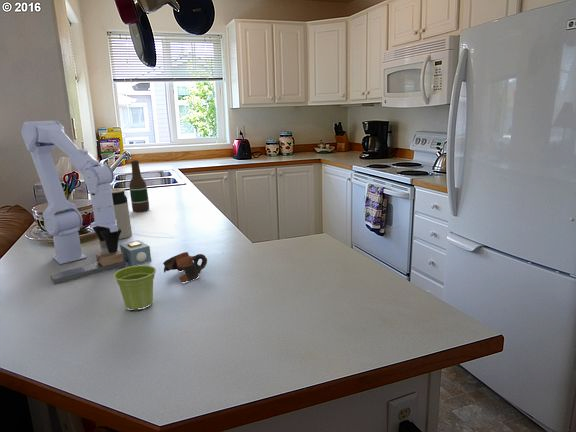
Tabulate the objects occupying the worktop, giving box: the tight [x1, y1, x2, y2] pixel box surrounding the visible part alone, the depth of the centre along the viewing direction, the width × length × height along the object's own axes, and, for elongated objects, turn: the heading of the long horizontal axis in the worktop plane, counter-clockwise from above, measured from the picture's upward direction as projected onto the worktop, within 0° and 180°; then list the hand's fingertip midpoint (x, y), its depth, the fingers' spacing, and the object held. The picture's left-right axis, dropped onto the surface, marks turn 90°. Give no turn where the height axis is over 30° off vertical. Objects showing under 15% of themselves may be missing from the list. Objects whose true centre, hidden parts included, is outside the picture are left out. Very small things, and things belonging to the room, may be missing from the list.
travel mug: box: [111, 187, 133, 240], centre depth 158 cm, size 8×8×18 cm
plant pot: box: [113, 264, 157, 309], centre depth 100 cm, size 9×9×9 cm
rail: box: [49, 259, 128, 285], centre depth 125 cm, size 5×20×2 cm, turn 130°
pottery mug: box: [162, 251, 208, 283], centre depth 118 cm, size 12×10×8 cm
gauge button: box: [128, 242, 141, 248], centre depth 133 cm, size 3×3×4 cm
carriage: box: [95, 241, 124, 266], centre depth 127 cm, size 6×6×6 cm
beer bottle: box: [128, 159, 150, 213], centre depth 200 cm, size 8×8×24 cm
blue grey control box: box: [119, 239, 152, 267], centre depth 133 cm, size 9×6×5 cm, turn 40°
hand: (109, 250), depth 128 cm, fingers open, 5 cm apart
